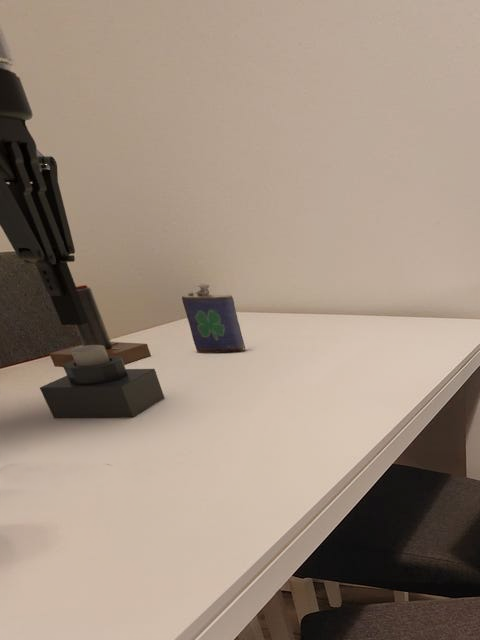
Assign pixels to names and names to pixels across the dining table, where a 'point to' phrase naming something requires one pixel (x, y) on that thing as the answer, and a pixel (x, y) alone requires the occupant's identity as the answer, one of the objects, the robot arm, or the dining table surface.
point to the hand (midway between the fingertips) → (75, 323)
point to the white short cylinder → (90, 355)
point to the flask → (213, 321)
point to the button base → (102, 391)
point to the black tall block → (92, 321)
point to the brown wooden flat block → (120, 349)
